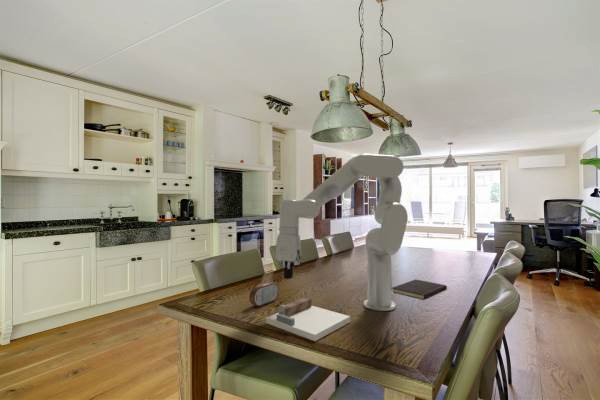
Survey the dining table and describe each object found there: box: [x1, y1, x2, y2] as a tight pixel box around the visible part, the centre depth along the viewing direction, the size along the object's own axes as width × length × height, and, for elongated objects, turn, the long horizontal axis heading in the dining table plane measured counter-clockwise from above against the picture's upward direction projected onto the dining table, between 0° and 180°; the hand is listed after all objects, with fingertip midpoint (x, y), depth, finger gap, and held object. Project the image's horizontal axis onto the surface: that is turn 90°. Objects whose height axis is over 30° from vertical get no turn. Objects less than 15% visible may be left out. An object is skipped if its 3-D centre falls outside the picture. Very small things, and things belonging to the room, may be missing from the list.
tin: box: [248, 281, 279, 307], centre depth 132 cm, size 15×3×8 cm, turn 141°
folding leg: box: [278, 297, 312, 316], centre depth 116 cm, size 16×3×4 cm, turn 139°
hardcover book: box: [392, 278, 448, 300], centre depth 150 cm, size 16×23×2 cm
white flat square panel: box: [265, 305, 351, 342], centre depth 111 cm, size 20×22×4 cm
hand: (288, 278), depth 122 cm, fingers closed
